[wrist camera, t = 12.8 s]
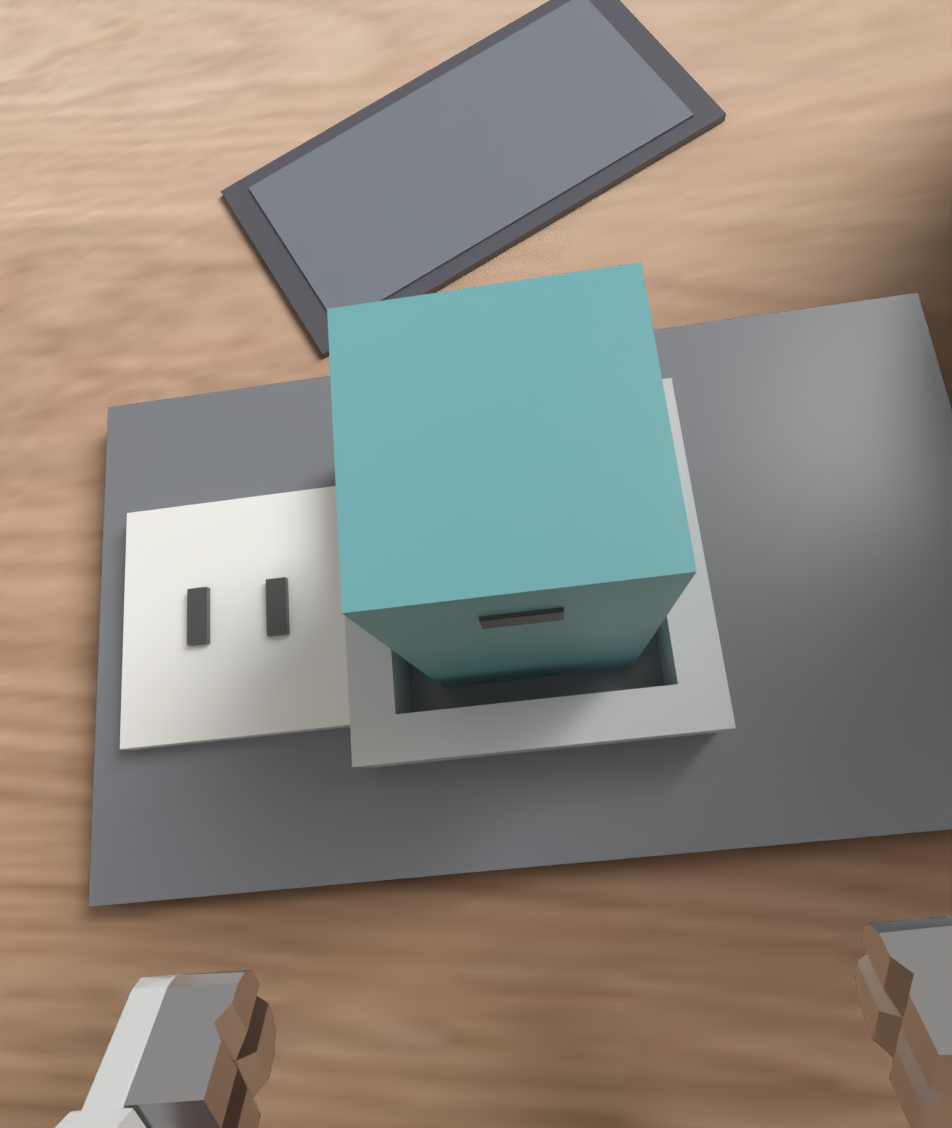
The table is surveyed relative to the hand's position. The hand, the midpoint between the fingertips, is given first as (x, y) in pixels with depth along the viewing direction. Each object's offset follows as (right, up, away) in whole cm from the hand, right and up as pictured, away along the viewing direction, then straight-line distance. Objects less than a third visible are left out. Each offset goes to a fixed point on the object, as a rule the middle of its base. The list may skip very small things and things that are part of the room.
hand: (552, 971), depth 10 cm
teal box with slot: (0, +5, +9) cm, 10 cm away
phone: (-1, +18, +14) cm, 23 cm away
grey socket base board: (0, +5, +10) cm, 11 cm away
